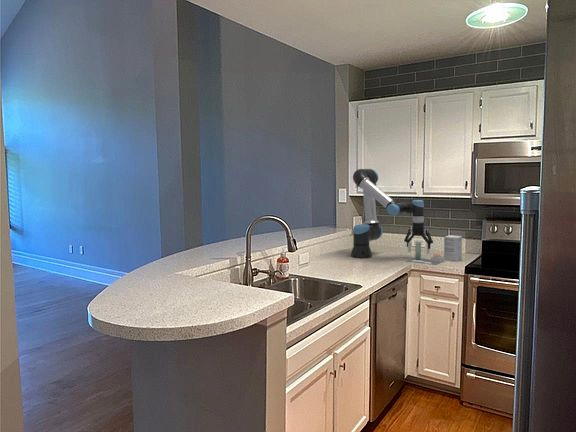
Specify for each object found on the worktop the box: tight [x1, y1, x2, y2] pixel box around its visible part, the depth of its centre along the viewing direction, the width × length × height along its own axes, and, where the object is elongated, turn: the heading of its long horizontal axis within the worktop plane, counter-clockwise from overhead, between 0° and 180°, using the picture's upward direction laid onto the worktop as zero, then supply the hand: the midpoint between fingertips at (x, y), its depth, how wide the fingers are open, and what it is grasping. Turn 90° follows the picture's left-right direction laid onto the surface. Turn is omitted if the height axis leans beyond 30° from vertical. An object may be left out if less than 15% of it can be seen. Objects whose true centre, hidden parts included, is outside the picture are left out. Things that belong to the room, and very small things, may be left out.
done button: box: [433, 252, 441, 257], centre depth 282 cm, size 4×4×4 cm
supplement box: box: [443, 234, 463, 262], centre depth 286 cm, size 10×9×17 cm
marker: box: [414, 241, 422, 259], centre depth 291 cm, size 4×4×12 cm
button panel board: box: [404, 255, 446, 266], centre depth 283 cm, size 22×16×4 cm
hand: (418, 252), depth 291 cm, fingers open, 13 cm apart
